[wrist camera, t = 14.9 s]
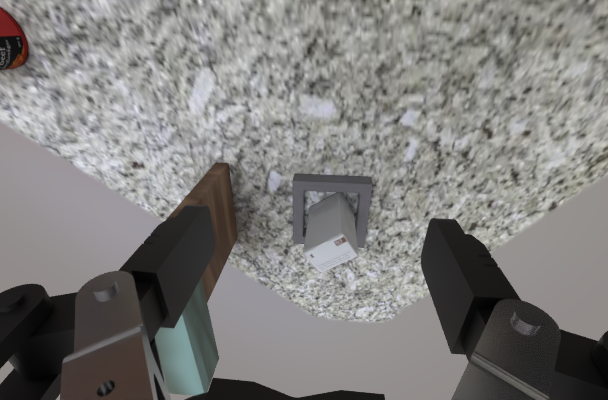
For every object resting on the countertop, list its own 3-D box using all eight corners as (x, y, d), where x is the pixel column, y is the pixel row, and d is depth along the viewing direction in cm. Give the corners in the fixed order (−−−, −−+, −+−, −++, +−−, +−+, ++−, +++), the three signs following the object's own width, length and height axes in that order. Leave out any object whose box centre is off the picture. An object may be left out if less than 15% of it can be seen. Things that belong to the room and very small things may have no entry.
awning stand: (253, 161, 46) (175, 292, 24) (260, 240, 54) (205, 396, 31) (215, 159, 47) (102, 286, 24) (226, 238, 54) (149, 391, 32)
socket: (370, 176, 46) (372, 184, 44) (362, 238, 52) (364, 247, 50) (294, 173, 47) (292, 180, 45) (295, 234, 53) (293, 243, 50)
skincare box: (323, 225, 51) (320, 277, 41) (308, 205, 49) (300, 254, 39) (355, 208, 49) (360, 258, 38) (340, 187, 47) (342, 234, 37)
